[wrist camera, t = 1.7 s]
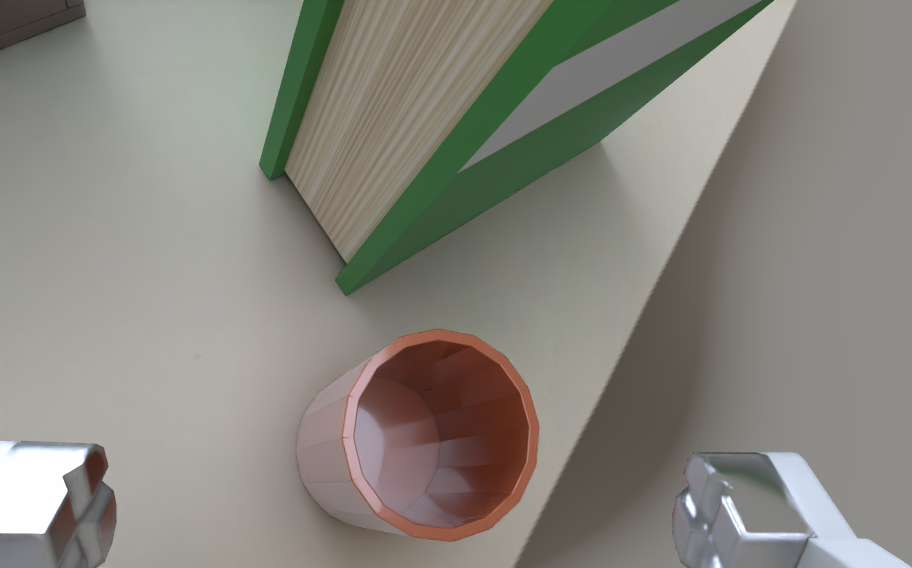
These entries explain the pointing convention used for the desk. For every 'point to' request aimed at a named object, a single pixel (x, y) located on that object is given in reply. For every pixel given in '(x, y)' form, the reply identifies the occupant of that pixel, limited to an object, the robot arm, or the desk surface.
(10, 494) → the robot arm
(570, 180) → the desk surface
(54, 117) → the desk surface
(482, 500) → the cup
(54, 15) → the divided storage box
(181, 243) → the desk surface
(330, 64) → the hardback book
